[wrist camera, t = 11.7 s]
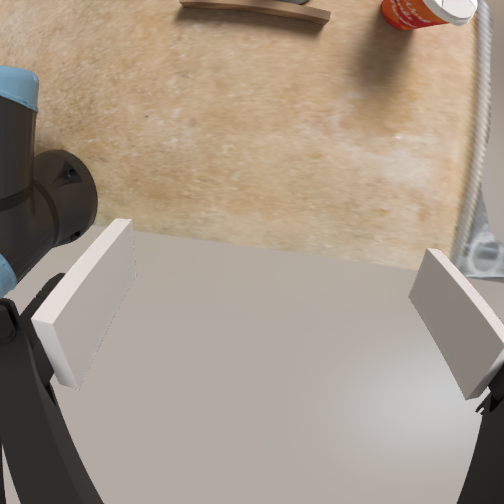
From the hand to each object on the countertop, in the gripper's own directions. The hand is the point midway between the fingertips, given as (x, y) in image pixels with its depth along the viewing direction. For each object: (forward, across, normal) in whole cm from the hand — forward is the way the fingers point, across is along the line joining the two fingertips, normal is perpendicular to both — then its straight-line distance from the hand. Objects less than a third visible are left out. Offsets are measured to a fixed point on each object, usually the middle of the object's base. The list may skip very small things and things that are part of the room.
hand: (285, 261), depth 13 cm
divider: (+30, +3, -19) cm, 35 cm away
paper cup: (+30, -16, -23) cm, 41 cm away
